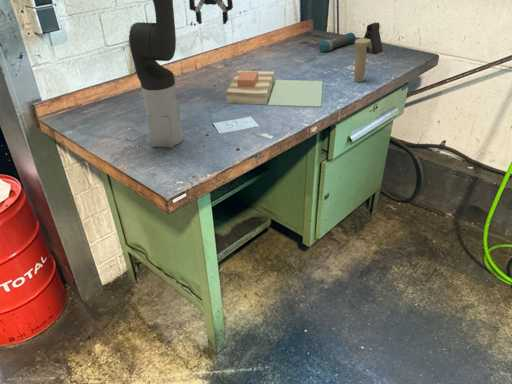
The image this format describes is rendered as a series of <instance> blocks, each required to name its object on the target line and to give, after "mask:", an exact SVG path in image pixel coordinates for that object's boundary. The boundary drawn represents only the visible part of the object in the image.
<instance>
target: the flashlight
mask: <svg viewBox="0 0 512 384" xmlns="http://www.w3.org/2000/svg"><path fill="white" fill-rule="evenodd" d="M355 41H356V35H355V33H354V32H347V33H345V34H343V35H340V36H338V37H336V38H332V39H325V40H322V41H321V42H320V43H319V45H318V49H319V50H320V51H321V53H328V52H330V51H332V50H333V49H337V48H339V47H342V46H345V45H346V46H348V45H350V44H351V45H352V44H353V43H355Z"/></svg>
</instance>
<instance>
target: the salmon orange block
mask: <svg viewBox="0 0 512 384" xmlns="http://www.w3.org/2000/svg"><path fill="white" fill-rule="evenodd" d="M241 71H242V72H241V74H240V76H239V78H238V80H237V84H238V87H255V85H256V82H257V80H258V72H244V71H245V70H241Z"/></svg>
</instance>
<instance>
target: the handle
mask: <svg viewBox="0 0 512 384" xmlns="http://www.w3.org/2000/svg"><path fill="white" fill-rule="evenodd" d="M370 41H371V40H370V39H366V38H364V37H363V38H358V39H355V41H354V46H355V47H357V49H356V54H355V55H356V56H355V61H354V71H353V72H354V75H353V77H354V82H356V83H363V81H364V77H365V74H366V73H365V72H366V64H367V63H366V62H367V53H366V50H367V47H368V46H369V47H370V45H371V43H370Z"/></svg>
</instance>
